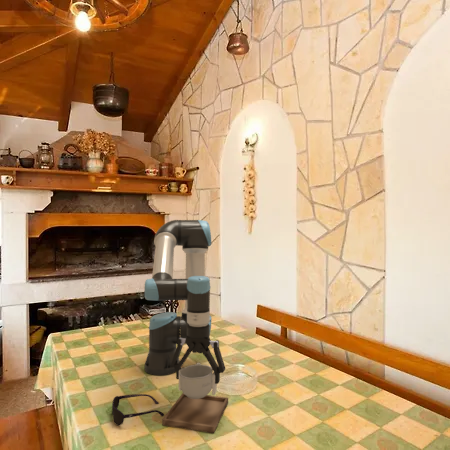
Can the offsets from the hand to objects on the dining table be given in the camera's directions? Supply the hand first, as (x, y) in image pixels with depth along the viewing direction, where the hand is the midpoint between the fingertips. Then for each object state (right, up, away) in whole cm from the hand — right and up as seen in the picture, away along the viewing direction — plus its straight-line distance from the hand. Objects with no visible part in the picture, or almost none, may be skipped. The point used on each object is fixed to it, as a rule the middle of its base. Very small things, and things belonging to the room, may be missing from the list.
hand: (197, 390), depth 116 cm
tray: (0, -7, 0) cm, 7 cm away
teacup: (0, -1, 0) cm, 1 cm away
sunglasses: (-20, -8, 0) cm, 21 cm away
